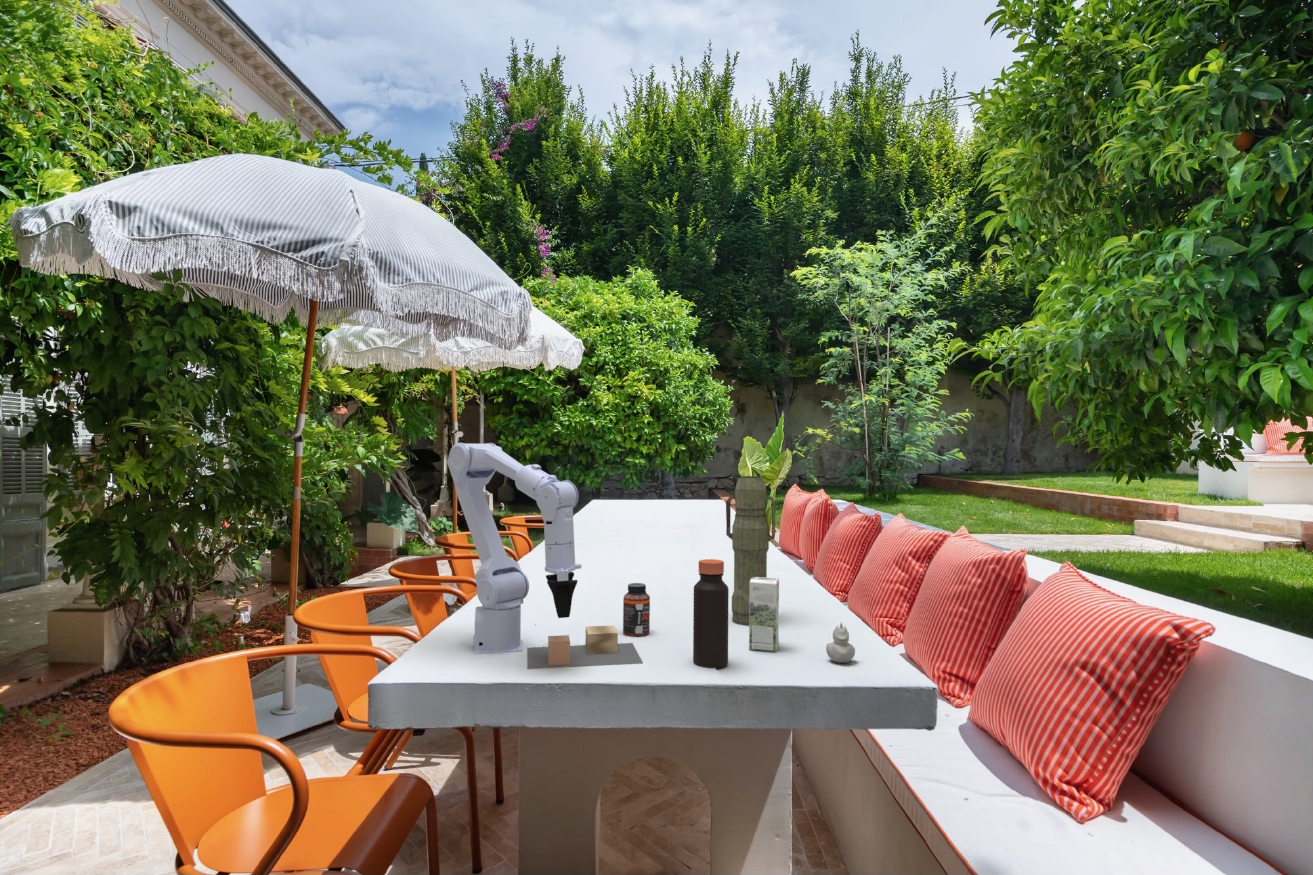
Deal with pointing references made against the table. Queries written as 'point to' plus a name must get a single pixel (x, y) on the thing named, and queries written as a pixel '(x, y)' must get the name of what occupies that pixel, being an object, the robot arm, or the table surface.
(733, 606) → the thermos
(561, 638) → the terracotta block
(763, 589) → the syrup box
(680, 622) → the table surface
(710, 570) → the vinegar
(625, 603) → the supplement bottle
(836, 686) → the table surface
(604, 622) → the table surface
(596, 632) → the oak block
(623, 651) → the mat
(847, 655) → the rubber duck
